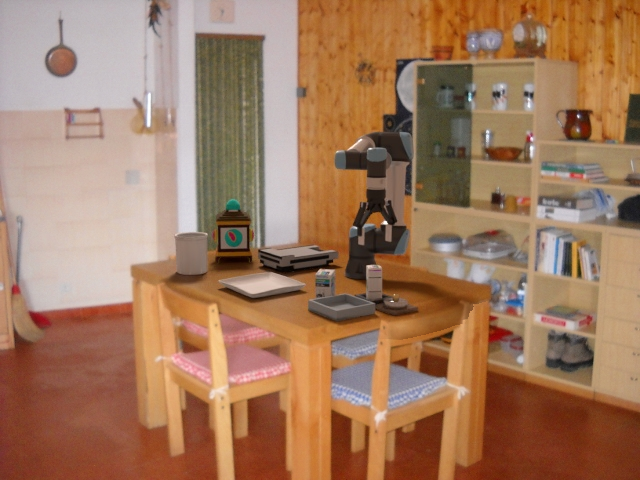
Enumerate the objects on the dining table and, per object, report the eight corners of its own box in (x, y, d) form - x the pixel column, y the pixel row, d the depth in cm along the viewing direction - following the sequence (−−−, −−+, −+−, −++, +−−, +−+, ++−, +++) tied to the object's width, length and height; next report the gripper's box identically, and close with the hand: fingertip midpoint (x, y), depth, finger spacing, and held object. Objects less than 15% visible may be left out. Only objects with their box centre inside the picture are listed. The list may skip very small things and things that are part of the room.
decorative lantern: (253, 255, 392) (252, 196, 387) (255, 263, 373) (254, 201, 367) (213, 255, 389) (212, 196, 384) (213, 264, 370) (212, 202, 365)
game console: (338, 266, 370) (338, 249, 368) (282, 274, 351) (282, 257, 350) (313, 258, 386) (313, 242, 385) (258, 266, 368) (258, 249, 366)
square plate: (217, 288, 326) (216, 279, 326) (271, 279, 343) (271, 270, 342) (251, 302, 305) (251, 292, 305) (307, 292, 322) (307, 282, 321)
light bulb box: (331, 301, 305) (331, 275, 303) (314, 300, 307) (314, 274, 305) (335, 295, 316) (335, 269, 314) (319, 294, 317) (319, 268, 315)
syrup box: (382, 304, 303) (383, 267, 300) (367, 304, 302) (368, 267, 299) (380, 300, 308) (380, 264, 306) (365, 300, 308) (366, 264, 305)
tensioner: (353, 301, 306) (353, 286, 305) (376, 296, 313) (376, 282, 312) (393, 315, 287) (394, 300, 285) (417, 310, 293) (418, 295, 292)
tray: (308, 310, 293) (308, 299, 292) (345, 303, 303) (346, 293, 303) (336, 321, 279) (336, 310, 278) (375, 313, 289) (375, 303, 288)
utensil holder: (173, 269, 359) (172, 232, 356) (205, 267, 363) (204, 230, 360) (177, 276, 345) (176, 237, 342) (211, 274, 350) (210, 236, 346)
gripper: (356, 191, 287) (355, 247, 290) (407, 187, 301) (405, 241, 305) (344, 189, 293) (343, 244, 296) (394, 185, 307) (393, 238, 311)
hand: (374, 242), depth 301 cm, fingers open, 13 cm apart
